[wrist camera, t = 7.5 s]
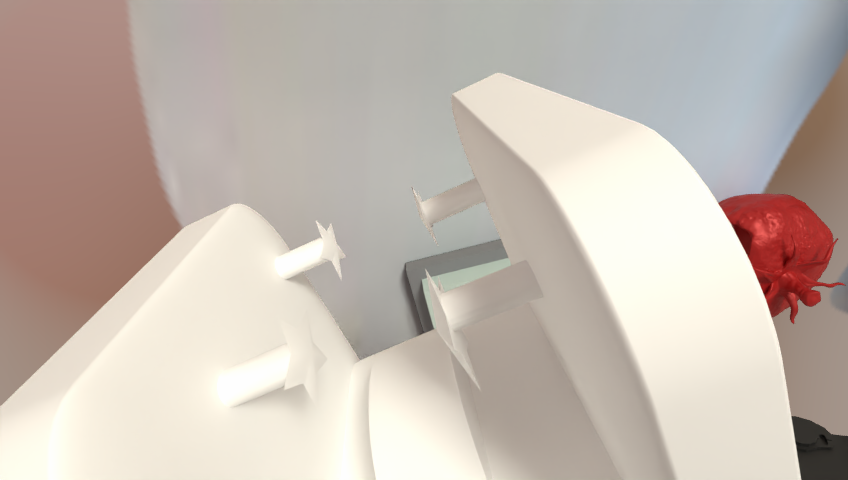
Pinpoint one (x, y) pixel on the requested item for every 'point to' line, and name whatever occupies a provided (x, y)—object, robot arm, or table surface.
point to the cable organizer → (442, 337)
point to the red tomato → (782, 247)
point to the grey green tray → (452, 273)
